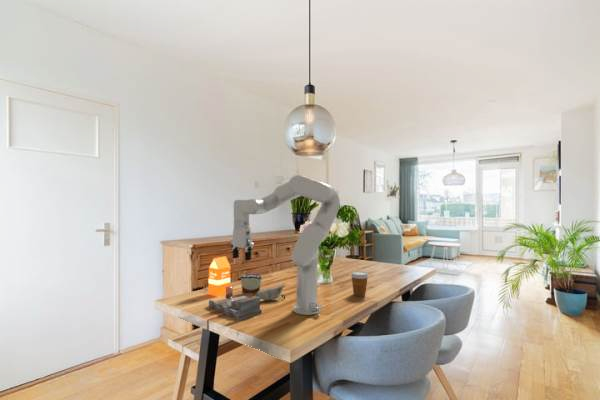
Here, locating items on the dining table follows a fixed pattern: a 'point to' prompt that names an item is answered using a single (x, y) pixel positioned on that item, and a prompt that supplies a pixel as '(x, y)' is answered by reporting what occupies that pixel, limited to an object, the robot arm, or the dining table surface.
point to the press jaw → (233, 302)
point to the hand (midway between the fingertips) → (241, 259)
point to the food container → (250, 283)
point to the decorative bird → (270, 293)
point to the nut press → (244, 311)
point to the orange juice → (219, 276)
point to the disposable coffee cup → (359, 282)
